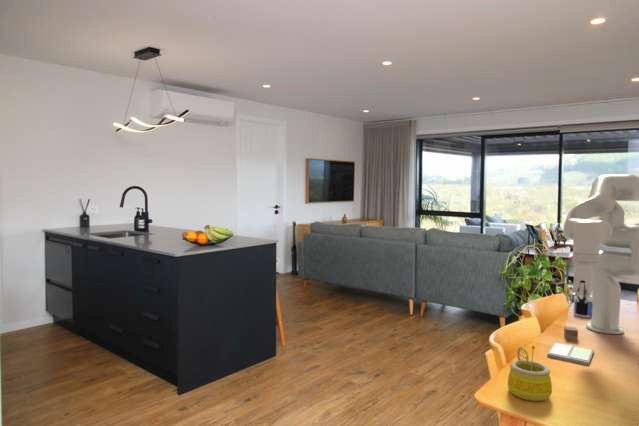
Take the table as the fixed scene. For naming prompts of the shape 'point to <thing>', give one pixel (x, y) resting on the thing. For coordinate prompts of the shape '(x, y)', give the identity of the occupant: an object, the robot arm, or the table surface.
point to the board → (571, 353)
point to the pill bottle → (590, 306)
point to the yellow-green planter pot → (529, 378)
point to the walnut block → (570, 333)
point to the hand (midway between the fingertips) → (582, 312)
